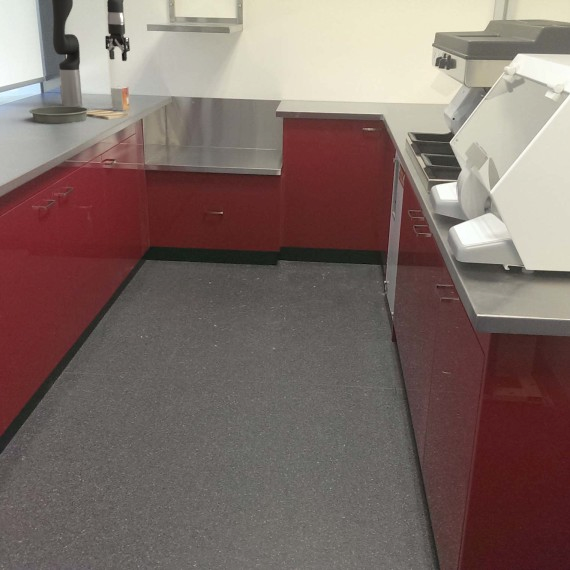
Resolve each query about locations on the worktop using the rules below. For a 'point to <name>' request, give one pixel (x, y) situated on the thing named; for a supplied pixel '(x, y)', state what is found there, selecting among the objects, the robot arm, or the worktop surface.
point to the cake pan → (59, 114)
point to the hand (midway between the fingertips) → (118, 60)
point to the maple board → (106, 114)
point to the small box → (120, 98)
